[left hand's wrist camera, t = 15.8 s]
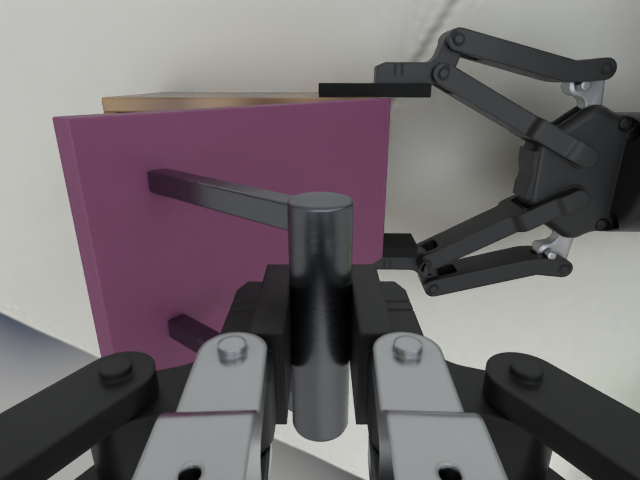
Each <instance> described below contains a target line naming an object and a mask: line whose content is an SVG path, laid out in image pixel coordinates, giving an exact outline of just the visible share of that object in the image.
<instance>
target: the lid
mask: <svg viewBox="0 0 640 480" xmlns="http://www.w3.org/2000/svg"><path fill="white" fill-rule="evenodd" d="M390 104H391V99H390V98H366V99H349V100H332V101H315V102H298V103H281V104H264V105H247V106H230V107H213V108H196V109H179V110H162V111H145V112H128V113H111V114H94V115H77V116H60V117H53V123H54V128H55V133H56V138H57V143H58V148H59V153H60V158H61V163H62V167H63V172H64V177H65V182H66V187H67V192H68V197H69V202H70V206H71V211H72V216H73V221H74V226H75V231H76V236H77V241H78V246H79V250H80V255H81V260H82V265H83V270H84V275H85V280H86V285H87V289H88V294H89V299H90V304H91V309H92V314H93V319H94V324H95V329H96V333H97V338H98V343H99V348H100V353H101V358H102V357H105V356H107V355H111V354H114V353H119V352H126V351H136V352H142V353H145V354H148V355H149V356H151V357H152V358H153V359H154V361H155V365H156V371H158V370H163V369H168V368H173V367H178V366H182V365H186V364H189V363H192V362H194V361H195V358H196V355H197V353H198V350H199V348H200V347H201V346H202V345H203V344H204V343H205V342H206V341H208V340H209V339H211V338H213V337H215V336H218V335H220V333H221V330H222V327H223V325H224V322H225V320H226V317H227V315H228V312H229V311H230V307H231V304H232V302H233V299H234V296H235V294H236V291H237V290H238V289H239V288H240V287H242V286H243V285H244V284H245V283H247V282H248V281H263V278H264V275H265V271H266V267H267V265H268V264H289V284H290V293H291V332H292V373H291V384H290V394H289V405H288V409H289V410H290V411H292V412H293V424H294V427H295V429H296V431H297V432H298V433H299V434H300V435H301V436H303V437H304V438H306V439H308V440H311V441H317V442H324V441H329V440H332V439H335V438H337V437H338V436H340V435H341V434H342V433H343V432H344V430H345V429H346V427H347V423H348V396H349V360H350V324H351V288H352V264H373V263H374V262H376V261H378V260H380V259H381V258H382V254H383V235H384V217H385V198H386V179H387V160H388V142H389V123H390Z"/></svg>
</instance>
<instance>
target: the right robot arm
mask: <svg viewBox="0 0 640 480" xmlns="http://www.w3.org/2000/svg"><path fill="white" fill-rule="evenodd" d="M459 58H464V59H467V60H471V61H474V62H478V63H481V64H485V65H489V66H492V67H496V68H499V69H503V70H506V71H510V72H513V73H517V74H520V75H524V76H527V77H531V78H535V79H538V80H542V81H547V82H562V83H561V88H562V92H563V93H564V94H566V95H569V96H573V97H574V98H575V99H576V100H577V106H576V107H574V108H573V109H571V110H570V111H568V112H566V113H565V114H563V115H562V116H560V117H559V118H557V119H556V120H554V121H553V122H551V123H550V122H548V121H546V120H544V119H542V118H540V117H537V116H536V115H534V114H532V113H530V112H529V111H527V110H525V109H524V108H522V107H521V106H519V105H517V104H516V103H514V102H512V101H511V100H509V99H507V98H506V97H504V96H502V95H501V94H499V93H497V92H496V91H494V90H492V89H491V88H489V87H487V86H486V85H484V84H482V83H481V82H479V81H477V80H476V79H474V78H472V77H471V76H469V75H467V74H466V73H464V72H463V71H461V70H459V69H458V68H456V65H457V63H458V60H459ZM616 69H617V63H616V62H615V60H614V59H612V58H595V59H583V60H573V59H569V58H566V57H562V56H559V55H555V54H552V53H549V52H545V51H542V50H538V49H535V48H531V47H528V46H524V45H521V44H517V43H514V42H510V41H507V40H503V39H500V38H496V37H493V36H489V35H486V34H482V33H479V32H476V31H472V30H469V29H465V28H456V29H453V30H450V31H448V32H446V33H443V34H442V35H441V36H440V38H439V40H438V46H437V48H436V51H435V53H434V55H433V57H432V58H431V59H430V60H429V61H427V62H385V63H382V64H380V65H378V66H375V67H374V83H319V97H431V85H433V86H435V87H436V88H438V89H440V90H441V91H443V92H445V93H446V94H448V95H450V96H452V97H453V98H455V99H457V100H458V101H460V102H462V103H463V104H465V105H467V106H468V107H470V108H472V109H474V110H475V111H477V112H479V113H480V114H482V115H484V116H485V117H487V118H489V119H490V120H492V121H494V122H496V123H497V124H499V125H501V126H502V127H504V128H506V129H507V130H509V131H510V132H511V133H513V134H514V135H516V136H518V137H519V138H521V139H523V140H525V141H526V143H525V145H524V146H520V151H519V167H520V171H519V173H518V175H517V178H516V180H515V183H514V190H513V193H515V195H513V196H511V197H509V198H507V199H505V200H503V201H501V202H500V203H499V204H498V206H496V207H494V208H492V209H490V210H488V211H486V212H484V213H482V214H479V215H477V216H475V217H473V218H471V219H469V220H467V221H465V222H462V223H460V224H458V225H456V226H454V227H452V228H450V229H448V230H445V231H443V232H441V233H439V234H437V235H435V236H433V237H431V238H428V239H426V240H424V241H422V242H420V243H418V244H416V242H415V241H414V239H413V237H412V235H411V234H405V233H384V235H383V254H382V258H381V259H380V260H378V261H376V262H374V263H373V264H375V266H376V269H398V270H414V271H416V272H417V273H418V277H419V279H420V282H421V284H422V286H423V288H424V290H425V292H426V294H427V295H429V296H439V295H443V294H448V293H453V292H457V291H462V290H467V289H472V288H476V287H481V286H486V285H490V284H495V283H500V282H504V281H509V280H514V279H518V278H523V277H528V276H532V275H545V276H555V277H565V276H568V275H569V274H570V273H571V271H572V269H573V266H572V264H571V263H570V262H569V261H568V260H567V256H568V253H569V249H570V246H571V243H572V240H573V238H575V237H578V236H581V235H583V234H585V233H588V232H591V231H615V232H640V112H613V111H611V110H609V109H608V108H606V107H605V106H602V100H603V92H604V83H605V80H607V79H609V78H611V77H612V76H613V75H614V74H615V72H616ZM542 224H545V225H546V226H547V227H549V228H550V229H551V230H553V232H552V234H551V235H550V236H549V237H548V238H546V239H541V240H535V241H533V243H532V246H517V247H512V248H507V249H503V250H498V251H494V252H489V253H485V254H480V255H476V256H471V257H467V258H462V259H459V258H461V257H463V256H466V255H468V254H470V253H472V252H474V251H477V250H479V249H481V248H483V247H485V246H488V245H490V244H492V243H494V242H496V241H498V240H501V239H503V238H505V237H507V236H509V235H512V234H514V233H516V232H526V231H529V230H531V229H534V228H536V227H538V226H540V225H542Z"/></svg>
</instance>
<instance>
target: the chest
mask: <svg viewBox="0 0 640 480" xmlns="http://www.w3.org/2000/svg"><path fill="white" fill-rule="evenodd" d="M366 98H380V97H319V93H151V94H139V95H127V96H114V97H103V98H102V104H103V110H104V111H105V112H104V114H111V113H128V112H145V111H162V110H179V109H196V108H213V107H230V106H247V105H264V104H281V103H298V102H315V101H332V100H349V99H366Z"/></svg>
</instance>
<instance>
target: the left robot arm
mask: <svg viewBox="0 0 640 480" xmlns="http://www.w3.org/2000/svg"><path fill="white" fill-rule="evenodd" d="M409 301H410V300H409V298H408V295H407V293H406V290H404V289H403V288H402V287H401V286H399V285H398V284H397V283H396V282H380V280H379V277H378V273H377V270H376V266H375V264H352V288H351V324H350V369H351V379H352V389H353V398H354V408H355V418H356V424H368V431H369V441H368V463H369V477H370V480H565V479H564V478H563V477H561V476H560V475H559V474H557V473H556V472H555V471H554V470H552V469H551V468H550V467H549V463H550V459H551V454H552V450H553V451H554V452H555V453H557V454H558V455H560V456H561V457H562V458H564V459H565V460H566V461H568V462H569V463H571V464H572V465H573V466H575V467H576V468H578V469H579V470H580V471H582V472H583V473H584V474H586V475H587V476H589V477H590V478H591V479H593V480H640V414H639V413H638V412H636V411H634V410H632V409H630V408H629V407H627V406H625V405H623V404H621V403H620V402H618V401H616V400H614V399H613V398H611V397H609V396H607V395H605V394H604V393H602V392H600V391H598V390H596V389H595V388H593V387H591V386H589V385H587V384H586V383H584V382H582V381H580V380H579V379H577V378H575V377H573V376H571V375H570V374H568V373H566V372H564V371H562V370H561V369H559V368H557V367H555V366H553V365H552V364H550V363H548V362H546V361H544V360H542V359H540V358H537V357H534V356H531V355H528V354H523V353H516V352H505V353H499V354H496V355H494V356H492V357H491V358H490V359H489V360H488V361H487V363H486V370H480V369H475V368H470V367H465V366H461V365H457V364H454V363H451V362H449V361H447V360H445V358H444V356H443V353H442V351H441V349H440V347H439V346H438V345H437V344H436V343H435V342H434V341H432V340H431V339H429V338H427V337H425V336H423V333H422V331H421V328H420V325H419V323H418V320H417V318H416V315H415V313H414V311H413V308H412V305H411V303H410V302H409ZM291 373H292V332H291V293H290V284H289V264H268V265H267V267H266V271H265V275H264V278H263V281H248V282H247V283H245V284H244V285H243V286H242V287H240V288H239V289H238V290H237V291H236V294H235V296H234V299H233V302H232V304H231V307H230V311H229V312H228V315H227V317H226V320H225V322H224V325H223V327H222V330H221V333H220V335H218V336H215V337H213V338H211V339H209V340H208V341H206V342H205V343H204V344H203V345H202V346H201V347H200V348H199V350H198V353H197V355H196V358H195V361H194V362H192V363H189V364H186V365H182V366H178V367H173V368H168V369H163V370H158V371H156V365H155V361H154V359H153V358H152V357H151V356H149V355H148V354H145V353H142V352H136V351H126V352H119V353H114V354H111V355H107V356H105V357H102V358H100V359H98V360H96V361H94V362H92V363H90V364H88V365H87V366H85V367H83V368H81V369H79V370H78V371H76V372H74V373H72V374H71V375H69V376H67V377H65V378H63V379H61V380H60V381H58V382H56V383H54V384H53V385H51V386H49V387H47V388H45V389H44V390H42V391H40V392H38V393H36V394H35V395H33V396H31V397H29V398H28V399H26V400H24V401H22V402H20V403H19V404H17V405H15V406H13V407H11V408H10V409H8V410H6V411H4V412H3V413H1V414H0V480H47V479H49V478H50V477H51V476H53V475H54V474H55V473H57V472H58V471H60V470H61V469H62V468H64V467H65V466H67V465H68V464H69V463H71V462H72V461H73V460H75V459H76V458H78V457H79V456H80V455H82V454H83V453H85V452H86V451H87V450H89V449H90V448H91V452H92V456H93V460H94V465H93V466H92V467H90V468H89V469H88V470H86V471H85V472H84V473H83V474H81V475H80V476H79V477H77V478H76V479H75V480H270V477H271V462H272V440H273V438H274V432H275V424H287V416H288V405H289V394H290V384H291Z"/></svg>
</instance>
